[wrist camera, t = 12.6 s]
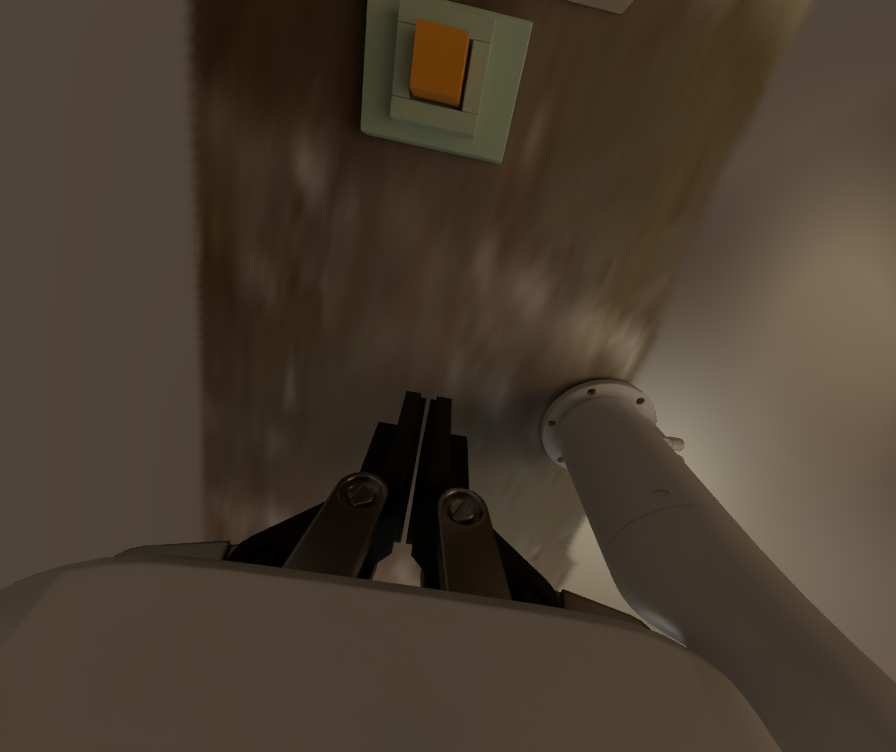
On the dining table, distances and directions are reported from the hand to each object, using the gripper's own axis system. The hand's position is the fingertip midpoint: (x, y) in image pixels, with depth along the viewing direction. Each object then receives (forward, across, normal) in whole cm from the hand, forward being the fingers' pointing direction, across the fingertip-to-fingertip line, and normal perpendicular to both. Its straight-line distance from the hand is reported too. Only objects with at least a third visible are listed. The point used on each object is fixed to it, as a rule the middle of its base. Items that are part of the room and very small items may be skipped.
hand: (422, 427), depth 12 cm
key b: (+19, +3, -15) cm, 24 cm away
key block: (+22, +3, -15) cm, 27 cm away
